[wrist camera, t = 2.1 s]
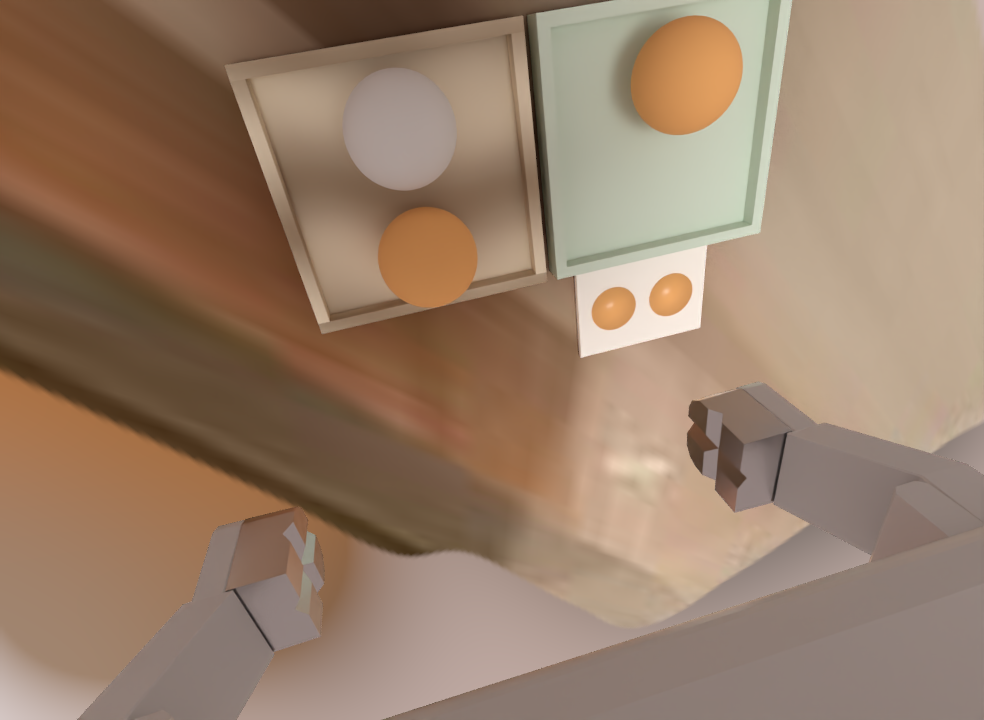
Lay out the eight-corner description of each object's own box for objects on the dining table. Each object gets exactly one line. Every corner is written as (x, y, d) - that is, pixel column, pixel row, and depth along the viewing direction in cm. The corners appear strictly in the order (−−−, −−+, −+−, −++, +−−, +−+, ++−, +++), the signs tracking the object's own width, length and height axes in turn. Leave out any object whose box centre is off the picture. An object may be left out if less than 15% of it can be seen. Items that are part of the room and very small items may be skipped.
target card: (573, 269, 26) (576, 272, 25) (703, 239, 27) (708, 242, 26) (579, 354, 28) (581, 358, 28) (697, 325, 29) (701, 328, 29)
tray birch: (230, 63, 19) (223, 65, 18) (514, 17, 20) (522, 15, 19) (323, 322, 24) (322, 334, 23) (539, 272, 25) (547, 281, 24)
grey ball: (329, 75, 19) (324, 81, 16) (436, 57, 19) (454, 59, 16) (359, 187, 21) (361, 213, 18) (455, 168, 22) (474, 189, 18)
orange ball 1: (364, 206, 22) (367, 235, 18) (459, 187, 22) (478, 212, 19) (388, 294, 24) (394, 334, 20) (474, 274, 24) (494, 311, 21)
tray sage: (526, 15, 20) (536, 13, 19) (774, -27, 21) (796, -31, 20) (549, 270, 25) (557, 279, 24) (744, 225, 27) (759, 232, 26)
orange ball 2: (612, 27, 20) (664, 22, 17) (707, 10, 21) (775, 3, 17) (614, 136, 22) (660, 151, 19) (699, 119, 23) (759, 131, 20)
